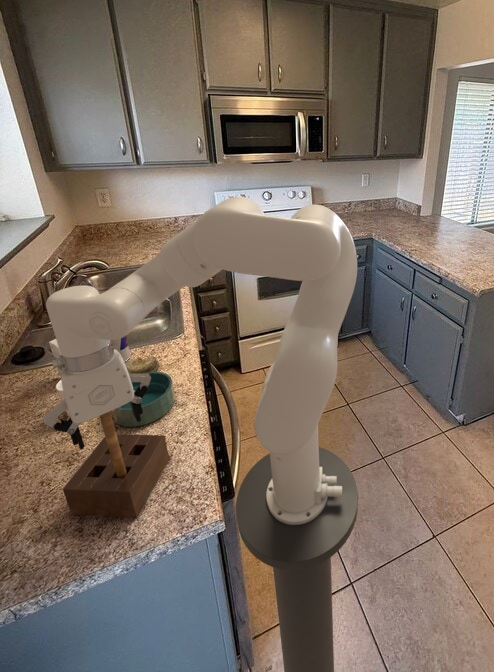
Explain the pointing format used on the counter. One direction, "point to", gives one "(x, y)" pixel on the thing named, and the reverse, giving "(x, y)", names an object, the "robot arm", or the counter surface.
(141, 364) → the tan textured clump
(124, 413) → the bowl
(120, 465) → the stick
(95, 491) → the holder
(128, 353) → the energy drink
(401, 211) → the counter surface
